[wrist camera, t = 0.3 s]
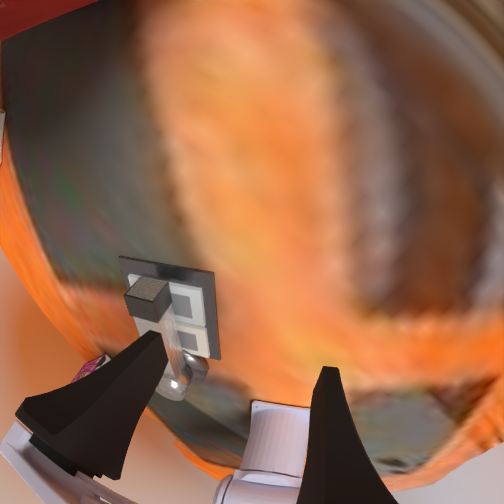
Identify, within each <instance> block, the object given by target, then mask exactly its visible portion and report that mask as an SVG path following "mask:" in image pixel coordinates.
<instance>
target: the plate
mask: <svg viewBox="0 0 504 504" xmlns="http://www.w3.org/2000/svg"><path fill="white" fill-rule="evenodd" d="M118 260H119V264H120V267H121V271H122V275H123V279H124V282H125V286H126V289H127V291H128V290H129V289H130V283H129V279H128V275H129V274H134V275H139V276H144V277H148V278H153V279H158V280H163V281H168V282H173V283H178V284H183V285H188V286H193V287H199V288H202V293H203V303H204V312H205V320H206V325H205V328H207V336H208V344H209V351H210V357H209V358H212V359H216V360H220V359H221V354H220V343H219V332H218V320H217V307H216V293H215V278H214V272H210V271H204V270H198V269H192V268H186V267H180V266H174V265H168V264H163V263H157V262H151V261H146V260H140V259H135V258H129V257H124V256H119V257H118ZM175 321H176V320H175ZM179 322H180V321H179ZM183 323H184V322H183ZM187 324H189V323H187ZM191 325H193V324H191ZM196 326H197V325H196ZM200 327H202V326H200Z"/></svg>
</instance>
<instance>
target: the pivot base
mask: <svg viewBox="0 0 504 504" xmlns="http://www.w3.org/2000/svg"><path fill="white" fill-rule="evenodd" d="M182 351H183V355H184V359H185V363H186V366H188V367H189V368H190V369H191V371H192V372H193V378H192V380H191V382H190V384H197V383H201V382H202V381H203V380H204V379H205V376H206V374H207V372H208V369H209V366H208V363H207V361H206V359H205V358H204V357H202V356H198V355H194V354H191V353H189V352H187V351H185V350H183V349H182Z"/></svg>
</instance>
